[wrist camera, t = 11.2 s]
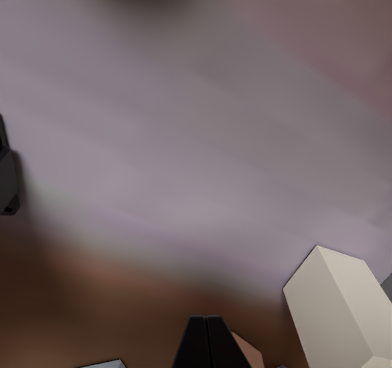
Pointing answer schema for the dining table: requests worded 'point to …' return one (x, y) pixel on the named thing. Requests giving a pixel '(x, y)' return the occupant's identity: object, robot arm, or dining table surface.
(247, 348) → the salmon rectangular block
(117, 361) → the gray rectangular block
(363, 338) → the cream rectangular block
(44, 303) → the dining table surface
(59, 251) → the dining table surface
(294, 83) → the dining table surface
